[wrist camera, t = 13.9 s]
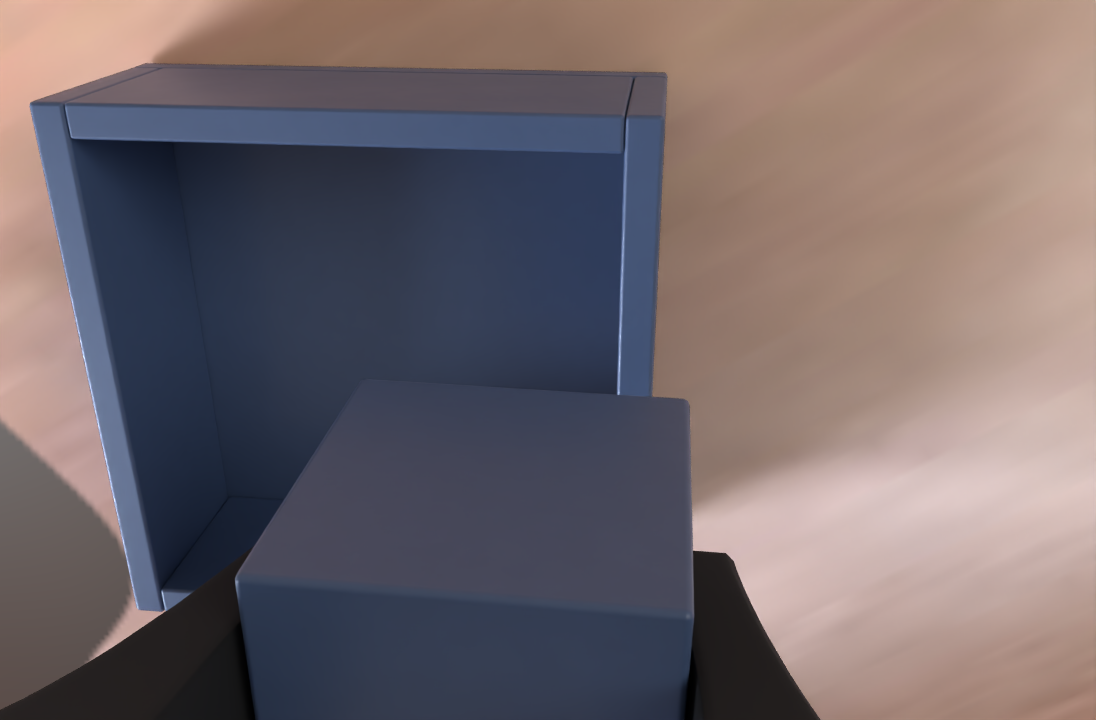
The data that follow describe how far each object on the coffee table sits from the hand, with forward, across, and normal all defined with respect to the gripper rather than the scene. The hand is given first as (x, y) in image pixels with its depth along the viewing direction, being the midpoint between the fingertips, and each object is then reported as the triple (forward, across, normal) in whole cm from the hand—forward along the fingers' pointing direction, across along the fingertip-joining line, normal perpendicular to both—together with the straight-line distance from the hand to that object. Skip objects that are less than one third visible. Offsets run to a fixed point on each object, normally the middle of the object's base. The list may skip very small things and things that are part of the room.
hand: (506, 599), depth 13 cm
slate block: (+2, 0, 0) cm, 2 cm away
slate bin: (+9, +3, 0) cm, 9 cm away
